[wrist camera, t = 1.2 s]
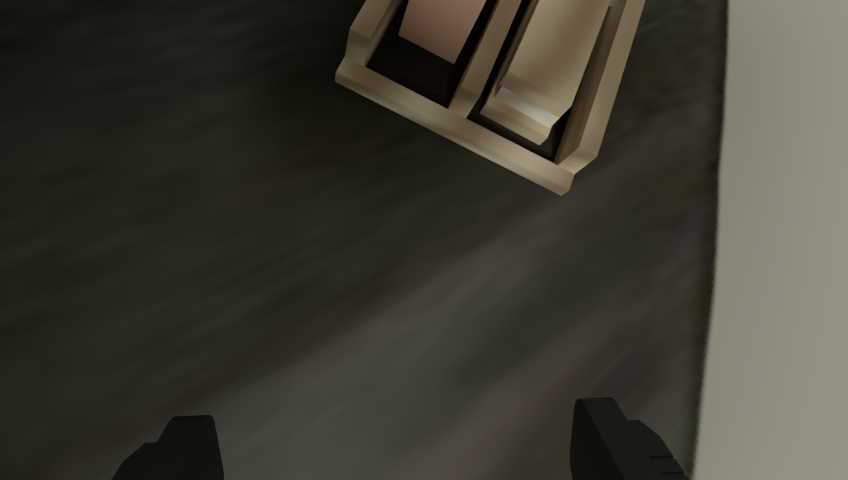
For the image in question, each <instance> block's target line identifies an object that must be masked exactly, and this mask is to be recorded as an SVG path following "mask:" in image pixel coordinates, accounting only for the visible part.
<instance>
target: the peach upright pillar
mask: <svg viewBox="0 0 848 480" xmlns="http://www.w3.org/2000/svg"><path fill="white" fill-rule="evenodd" d="M485 2H486V0H409V2H408V5H407V8H406V12H405V15H404V18H403V21H402V24H401V28H400V31H399V34H398V35H399V36H401V37H403V38H405V39H407V40H409V41H411V42H413V43H414V44H416V45H418V46H420V47H422V48H424V49H426V50H428V51H430V52H432V53H434V54H436V55H437V56H439V57H441V58H443V59H445V60H447V61H449V62H451V63H453V64H454V63H455V61H456V59H457V57H458V55H459V54H460V52H461V50H462V48H463V46H464V44H465V42H466V40H467V38H468V36H469V34H470V32H471V30H472V28H473V26H474V24H475V22H476V20H477V18H478V16H479V14H480V12H481V10H482V8H483V6H484V4H485Z"/></svg>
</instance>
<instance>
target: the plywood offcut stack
mask: <svg viewBox="0 0 848 480" xmlns="http://www.w3.org/2000/svg"><path fill="white" fill-rule="evenodd" d="M610 1H611V0H531V1H530V3H529V5H528V7H527V10H526V12H525V14H524V16H523V18H522V21H521V23H520V25H519V27H518V29H517V32H516V34H515V36H514V38H513V40H512V43H511V45H510V47H509V49H508V52H507V54H506V56H505V58H504V60H503V63H502V65H501V67H500V69H499V71H498V74H497V76H496V78H495V80H494V83H493V85H492V87H491V89H490V91H489V94H488V96H487V98H486V100H485V102H484V105H483V107H482V109H481V111H480V114H482V115H484V116H486V117H488V118H490V119H491V120H493V121H495V122H497V123H499V124H501V125H503V126H504V127H506V128H508V129H510V130H512V131H514V132H516V133H518V134H519V135H521V136H523V137H525V138H527V139H529V140H531V141H533V142H534V143H536V144H538V145H540V144H541V143H543V142H544V141H545V140H546V139H547V138H548V135H549V133H550V130H551V128H552V125H553V124H554V123H555V122H556V121H557V120H558V119H559V118H560V117H561V116H562V115H563V114H564V113H565V112H566V111H567V110H568V109H569V108H570V107H571V106H572V103H573V100H574V98H575V95H576V92H577V90H578V87H579V84H580V82H581V79H582V76H583V73H584V71H585V68H586V65H587V63H588V60H589V57H590V55H591V52H592V49H593V47H594V44H595V41H596V39H597V36H598V33H599V30H600V28H601V25H602V22H603V20H604V17H605V14H606V12H607V9H608V6H609V4H610Z"/></svg>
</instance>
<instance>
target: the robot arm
mask: <svg viewBox="0 0 848 480" xmlns="http://www.w3.org/2000/svg"><path fill="white" fill-rule="evenodd" d="M570 467H571V473H572V477H573V480H689V478H688V477H687V476H685V475H684V471H683V470H682V468H681V467H680V465H679V464H678V462H677V461H676V459H673V455H672V453H671V452H670V451H669V449H668V448H667V446H666V445H665V443H664V442H663V440H662V439H661V437H660V436H659V435H658V434H656V433H655V432H654V431H652V430H651V429H650V428H649V427H647V426H646V425H645V424H644V423H642V422H641V421H640V420H629V421H627V419H626V417H625V416H624V414H623V413H622V411H621V409H620V408H619V406H618V405H617V403H616V402H615V400H614V399H613V398H611V397H606V398H585V399H577V400H576V402H575V407H574V416H573V426H572V435H571V445H570ZM112 480H224V471H223V465H222V460H221V454H220V449H219V444H218V439H217V433H216V428H215V423H214V420H213V418H212V416H211V415H198V416H176V417H173V418H172V419H171V420H170V421H169V423H168V424H167V426H166V428H165V429H164V431H163V433H162V434H161V436H160V438H159V439H158V441H157V442H154V443H145V444H143V445H142V446H141V447H140V448H139V449H138V450H136V451H135V452H134V453H133V454H132V455H131V456H129V457H128V458H127V459H126V460H125V461H124V462H123V463H122V464H121V466H120V467H119V469H118V470H117V472H116V473H115V475H114V477H113V478H112Z"/></svg>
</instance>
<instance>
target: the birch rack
mask: <svg viewBox="0 0 848 480" xmlns="http://www.w3.org/2000/svg"><path fill="white" fill-rule="evenodd" d="M402 1H403V0H366V2H365V3H364V5H363V7H362V8H361V10H360V12H359V13H358V15H357V17H356V19H355V20H354V22H353V24H352V25H351V27H350V30H349V35H348V41H347V47H346V53H345V57H344V59H343V61H342V62H341V64H340V66H339V68H338V69H337V71H336V75H335V82H337V83H339V84H341V85H343V86H345V87H347V88H349V89H351V90H353V91H355V92H356V93H358V94H360V95H362V96H364V97H366V98H368V99H370V100H372V101H374V102H376V103H378V104H380V105H382V106H384V107H386V108H388V109H390V110H392V111H394V112H396V113H398V114H400V115H402V116H404V117H406V118H408V119H410V120H412V121H414V122H416V123H418V124H420V125H422V126H424V127H426V128H428V129H430V130H432V131H434V132H436V133H438V134H440V135H442V136H444V137H446V138H448V139H450V140H452V141H454V142H456V143H458V144H460V145H461V146H463V147H465V148H467V149H469V150H471V151H473V152H475V153H477V154H479V155H481V156H483V157H485V158H487V159H489V160H491V161H493V162H495V163H497V164H499V165H501V166H503V167H505V168H507V169H509V170H511V171H513V172H515V173H517V174H519V175H521V176H523V177H525V178H527V179H529V180H531V181H533V182H535V183H537V184H539V185H541V186H543V187H545V188H547V189H549V190H551V191H553V192H555V193H557V194H559V195H561V196H562V195H563V194H565V193H566V192H567V191H569V190H570V186H571V183H572V180H573V177H574V174H575V173H577V172H578V171H579V170H580V169H582V168H583V167H584V166H586V165H587V164H588V163H589V162H591V161H592V160H593V159H595V158H596V157H597V155H598V152H599V148H600V145H601V142H602V139H603V135H604V132H605V129H606V126H607V123H608V119H609V116H610V113H611V110H612V106H613V103H614V100H615V97H616V93H617V90H618V87H619V84H620V81H621V77H622V74H623V71H624V68H625V64H626V61H627V58H628V55H629V51H630V48H631V45H632V42H633V39H634V35H635V32H636V29H637V26H638V22H639V19H640V16H641V13H642V9H643V6H644V3H645V0H611V1H610V4H609V6H608V9H607V12H606V14H605V17H604V20H603V22H602V25H601V28H600V30H599V33H598V36H597V39H596V41H595V44H594V47H593V49H592V52H591V55H590V58H589V61H588V64H587V66H586V69H585V72H584V75H583V78H582V81H581V84H580V87H579V90H578V92H577V95H576V98H575V101H574V104H573V107H572V110H571V113H570V116H569V119H568V121H567V124H566V127H565V130H564V133H563V136H562V139H561V142H560V145H559V148H558V150H557V153H556V156H555V159H554V162H553V163H552V162H550V161H548V160H546V159H544V158H542V157H540V156H538V155H536V154H534V153H532V152H530V151H528V150H527V149H525V148H523V147H521V146H519V145H517V144H515V143H513V142H511V141H509V140H507V139H505V138H503V137H501V136H499V135H497V134H495V133H493V132H491V131H489V130H487V129H485V128H484V127H482V126H480V125H478V124H476V123H474V122H472V121H470V120H468V119H466V117H467V116H468V114H469V113H470V111H471V109H472V108H473V106H474V105H475V103H476V102H477V100H478V99H479V97H480V95H481V93H482V91H483V88H484V86H485V84H486V81H487V79H488V77H489V74H490V72H491V70H492V67H493V65H494V63H495V60H496V58H497V56H498V54H499V51H500V49H501V47H502V44H503V42H504V40H505V37H506V35H507V33H508V30H509V28H510V26H511V23H512V21H513V19H514V17H515V14H516V12H517V10H518V7H519V5H520V3H521V0H497V1H496V3H495V6H494V8H493V10H492V12H491V14H490V17H489V19H488V21H487V23H486V25H485V28H484V30H483V32H482V34H481V36H480V38H479V41H478V43H477V45H476V47H475V49H474V52H473V54H472V56H471V58H470V60H469V63H468V65H467V67H466V69H465V71H464V73H463V76H462V78H461V80H460V82H459V84H458V87H457V89H456V91H455V93H454V95H453V98H452V100H451V102H450V104H449V106H448V109H446V108H444V107H442V106H441V105H439V104H437V103H435V102H433V101H431V100H429V99H427V98H425V97H423V96H421V95H419V94H417V93H415V92H413V91H411V90H409V89H407V88H405V87H403V86H401V85H399V84H398V83H396V82H394V81H392V80H390V79H388V78H386V77H384V76H382V75H380V74H378V73H376V72H374V71H372V70H370V69H368V68H366V66H367V64H368V62H369V61H370V59H371V57H372V55H373V53H374V51H375V50H376V48H377V46H378V44H379V42H380V41H381V39H382V37H383V35H384V33H385V31H386V30H387V28H388V26H389V24H390V22H391V21H392V19H393V17H394V15H395V13H396V11H397V10H398V8H399V6H400V4H401V2H402Z"/></svg>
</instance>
